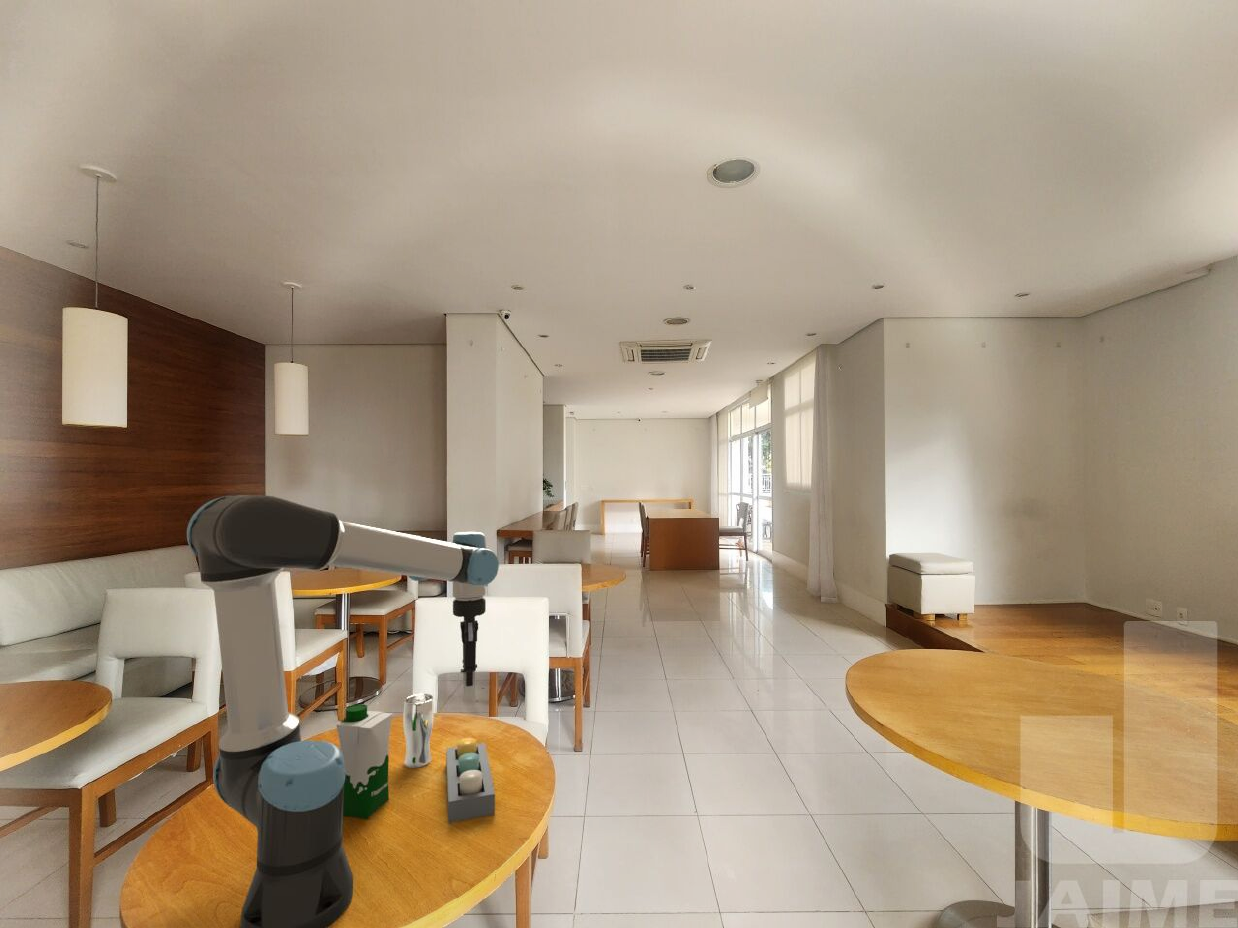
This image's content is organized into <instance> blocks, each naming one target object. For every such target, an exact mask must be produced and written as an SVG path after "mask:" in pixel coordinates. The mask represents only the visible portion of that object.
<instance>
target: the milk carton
mask: <svg viewBox="0 0 1238 928" xmlns="http://www.w3.org/2000/svg"><path fill="white" fill-rule="evenodd" d="M393 714H394V713H391V712H390V713H388V712H383V711H375V710H374V711H372V710H368V706H367V704H364V703H363V704H362V703H360V704H353V705H351V706H348V707H346V708H345V718H343V720H341V721H340V722H339V723H337V724H336V731H337V735H338V739H339V749H340V750H341V752H342V754H343V758H344V767H345V782H344V804H343V817H349V818H357V819H363V820H364V819H365V820H368V819H369V818H371V816H373V815H374V814H375V813H376V812H377V811H378V810H380V809H381V807H383V806H384V805H385V804H386V803H387V802H389V800H390V799H389V798H390V797H389V762H390V761H389V756H390V755H389V754H390V753H389V752H390V734H391V728H392V727H391V726H392V721H393Z"/></svg>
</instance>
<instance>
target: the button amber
mask: <svg viewBox="0 0 1238 928" xmlns="http://www.w3.org/2000/svg"><path fill="white" fill-rule="evenodd" d="M477 744H478V740H477V739H476V738H474V737H465V738H461V739H459V740H458V741H457V744H456V745H457V746H456V747H457V759H459V757H460V756H461V755H463V754H466V753H476V754H477Z"/></svg>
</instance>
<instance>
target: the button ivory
mask: <svg viewBox="0 0 1238 928" xmlns="http://www.w3.org/2000/svg"><path fill="white" fill-rule="evenodd" d="M481 791H482V772H481V771H479V770H468V771H465V772H463V773H462V774H461V775H460V795H461V796H464V795H470V794H476V793H481Z"/></svg>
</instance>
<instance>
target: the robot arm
mask: <svg viewBox="0 0 1238 928" xmlns="http://www.w3.org/2000/svg"><path fill="white" fill-rule="evenodd" d="M452 538H453V539H452V542H449V541H443V540H438V539H432V538H427V537H423V536H417V535H413V534H408V533H403V532H397V531H393V530H388V529H383V528H378V527H374V526H368V525H364V524H363V525H362V524H358V523H354V522H349V521H348V522H347V521H345V520H343V521H342V520H340V518H339V516H338V515H337V514H336V513H333V512H330V511H324V510H321V509H317V508H314V507H313V508H312V507H310V506H306V505H304V504H301V503H300V504H299V503H297V502H293V501H290V500H287V499H284V498H281V497H277V496H274V495H266V494H265V495H264V494H261V495H260V494H259V495H255V494H254V495H250V494H230V495H225V496H221V497H218V498H214V499H212V500H210V501H207V502H206V503H204V504H203V505H201V506H200V507H199V508H198V509H197V510H196V512H194V513H193V515H192V516H191V518H190V520H189V522H188V524H187V528H186V539H187V543H188V545H189V548H190V549H191V551H192V552H193V554H194V555H195V556H197V558H198V565H199V572H200V573H199V575H200V581H201V583H202V584H203V585H205V586H208V587H209V588H211V589H212V591H213V597H214V605H215V614H216V623H217V632H218V641H219V649H220V650H219V652H220V653H219V654H220V660H221V661H220V662H221V669H222V680H223V681H222V682H223V688H224V690H223V691H224V697H225V698H224V699H225V706H226V716H227V726H228V729H227V731H226V732H225V733H224V734H223V735H222V737H221V738H220V739H219V741H218V750H219V755H218V756H217V758H216V760H215V762H214V766H213V772H212V780H213V781H212V782H213V785H214V788H215V790H216V792H217V794H218V797H219V798H220V799H221V801H223V803H225V804H226V805H227V806H229V807H231V809H233V810H234V811H236V812H237V813H238V814H240V815H241V816H242V817H243V818H245V819H246V820H247V821H249V822H250V823H251V824H253V826H254V827H256V831H257V847H256V848H257V850H256V868H255V873H254V875H253V878H252V881H251V882H250V885H249V888H248V892H247V894H246V896H245V900H244V903H243V905H242V909H241V912H240V928H327V927H329V926H331V925H332V924H333V923H335V921H337V920H338V919H339V918H340V917H341V916H342V915H343V914H344V913H345V912H346V911H347V908H348V907H349V906H350V903H351V902H352V899H353V894H354V875H353V872H352V869H351V866H350V864H349V863H350V862H349V860H348V858H347V855H346V852H345V849H344V846H343V829H344V816H343V804H344V782H345V767H344V758H343V754H342V752H341V750H340V747H338V746H337V745H335V744H334V743H332V742H329V741H326V740H321V739H320V740H318V741H315V740H314V739H307V740H302V735H301V726H300V725H301V724H300V719H299V716H298V715H296V714H293V713H291V712H289V710H288V709H289V708H288V698H287V697H288V696H287V689H286V680H285V679H286V678H285V670H284V660H283V649H282V642H281V641H282V639H281V631H280V621H279V619H280V618H279V610H278V598H277V591H276V590H277V589H276V580H277V578H278V576H279V575H280V573H281V572H282V571H283V570H284V569H306V570H313V571H320V570H323V569H324V568H325V567H327V566H329V567H330V566H332V567H340V568H346V569H347V568H348V569H354V570H362V571H369V572H370V571H371V572H378V573H385V574H393V575H400V576H407V577H408V578H409V579H410V580H412V581H416V582H421V581H424V582H425V581H427V580H428V581H429V580H438V581H439V580H440V581H446V582H447V581H448V582H452V597H453V598H454V599H453V600H452V615H453V616H455V617H456V618H457V617H458V618H462V617H463V621H460V626H459V627H460V630H461V631H460V632H461V633H460V635H461V642H462V664H463V665H462V668H461V669H460V673H461V674H462V700H463V701H466V700H474V699H476V670H477V668H478V664H477V663H476V659H477V658H476V657H477V655H476V654H477V653H476V652H477V642H478V631H479V622H478V620H476V617H477V616H482V615H484V614H485V613H486V603H487V602H486V601H487V599H486V598H485V597H484V596H485V595H486V587H488V586H489V584H491V583H492V582H493V581H494V580H495V579H496V577H497V575H498V573H499V572H498V571H499V567H500V562H499V557H498V555H497V554H496V552H495V551H493V550H491V549H489V548H487V544H486V542H487V541H486V536H485V534H484V533H482V532H481V531H478V532H477V531H465V532H464V531H463V532H462V531H461V532H455V533H454V534H453V537H452Z"/></svg>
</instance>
